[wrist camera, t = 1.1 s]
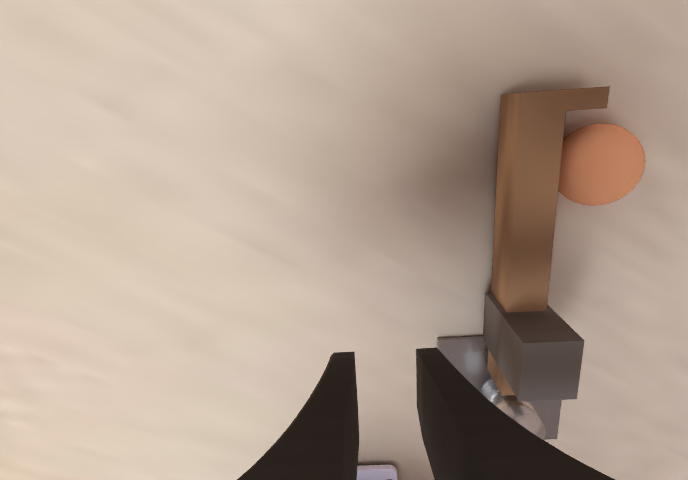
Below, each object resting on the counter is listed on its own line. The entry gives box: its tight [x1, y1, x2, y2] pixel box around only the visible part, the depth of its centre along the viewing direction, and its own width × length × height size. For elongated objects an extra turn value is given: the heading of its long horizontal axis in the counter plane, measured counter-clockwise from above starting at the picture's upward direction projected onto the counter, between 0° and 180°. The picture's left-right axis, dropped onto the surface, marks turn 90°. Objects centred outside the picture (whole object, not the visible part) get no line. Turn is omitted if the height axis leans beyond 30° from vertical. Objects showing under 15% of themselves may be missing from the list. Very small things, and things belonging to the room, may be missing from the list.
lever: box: [483, 86, 610, 401], centre depth 18 cm, size 14×4×5 cm, turn 4°
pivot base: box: [438, 336, 561, 440], centre depth 22 cm, size 7×7×4 cm
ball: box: [558, 124, 645, 205], centre depth 18 cm, size 4×4×4 cm
